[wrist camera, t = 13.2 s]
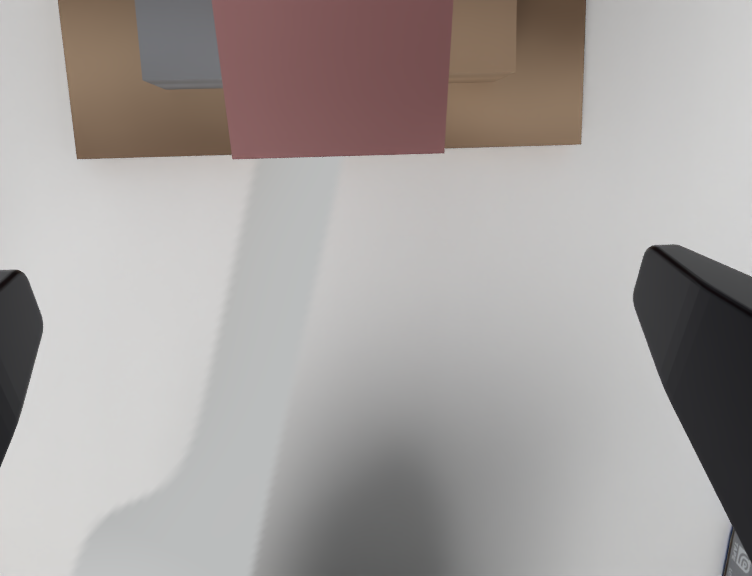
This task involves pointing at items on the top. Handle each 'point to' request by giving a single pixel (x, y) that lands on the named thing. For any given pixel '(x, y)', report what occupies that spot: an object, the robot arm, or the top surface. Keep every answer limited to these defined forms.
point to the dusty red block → (334, 76)
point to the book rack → (205, 88)
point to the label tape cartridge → (737, 559)
